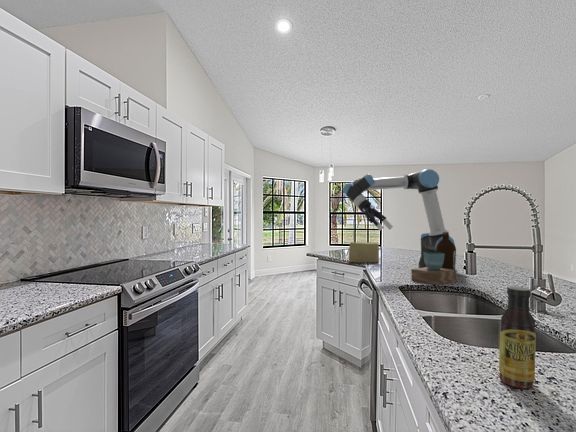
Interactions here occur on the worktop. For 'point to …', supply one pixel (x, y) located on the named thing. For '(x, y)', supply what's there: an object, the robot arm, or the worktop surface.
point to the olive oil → (447, 251)
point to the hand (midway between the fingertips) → (386, 228)
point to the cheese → (364, 252)
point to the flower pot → (433, 260)
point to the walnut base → (434, 275)
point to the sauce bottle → (517, 340)
